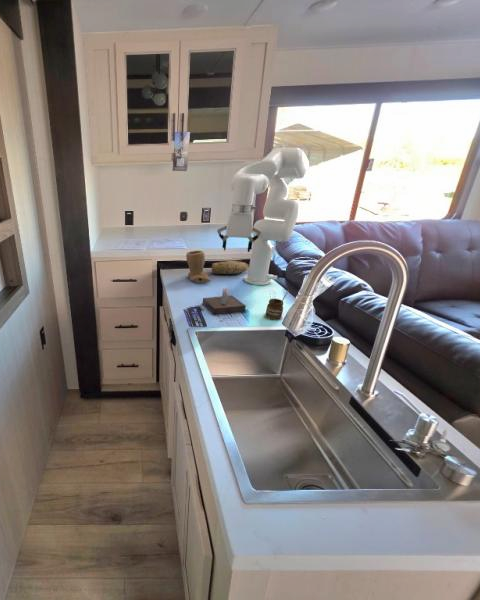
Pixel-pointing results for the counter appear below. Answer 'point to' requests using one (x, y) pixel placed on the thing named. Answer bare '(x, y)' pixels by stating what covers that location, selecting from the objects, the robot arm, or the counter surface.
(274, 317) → the utensil holder
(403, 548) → the counter surface
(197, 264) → the tan fabric boot shape
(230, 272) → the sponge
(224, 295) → the nozzle knob
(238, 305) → the brown flat wooden block
